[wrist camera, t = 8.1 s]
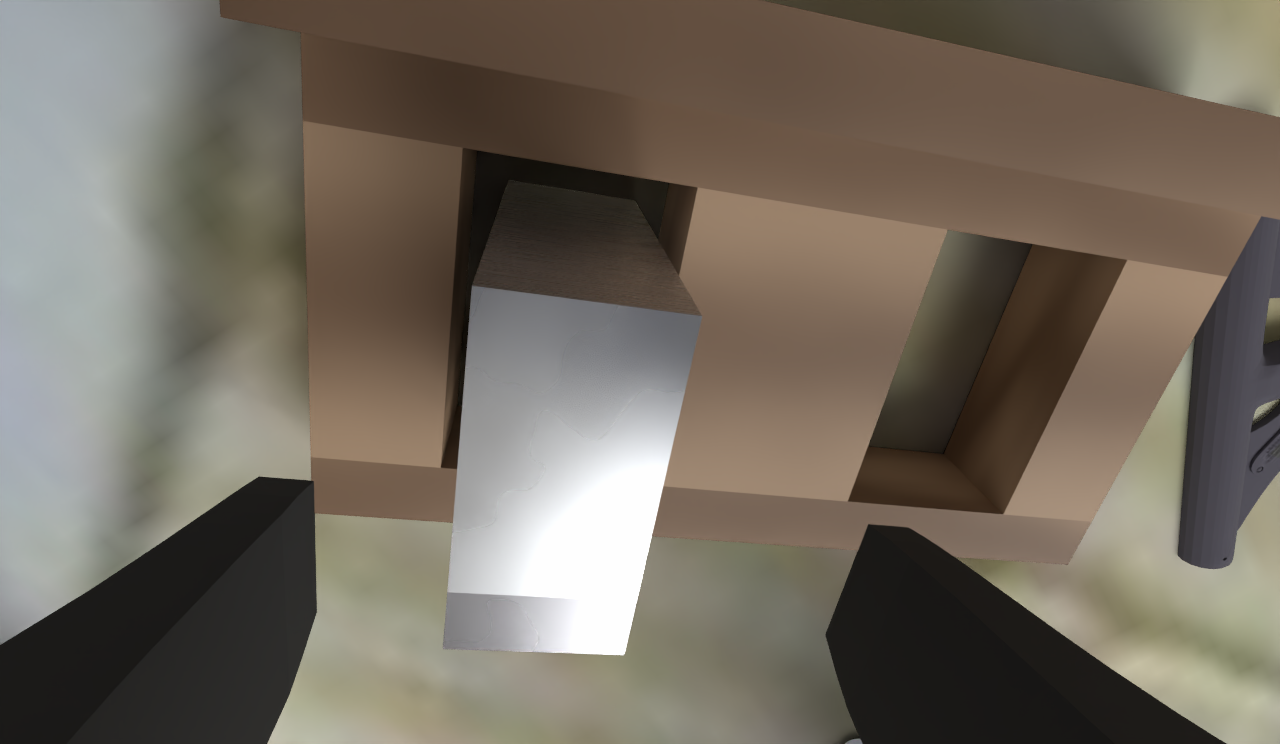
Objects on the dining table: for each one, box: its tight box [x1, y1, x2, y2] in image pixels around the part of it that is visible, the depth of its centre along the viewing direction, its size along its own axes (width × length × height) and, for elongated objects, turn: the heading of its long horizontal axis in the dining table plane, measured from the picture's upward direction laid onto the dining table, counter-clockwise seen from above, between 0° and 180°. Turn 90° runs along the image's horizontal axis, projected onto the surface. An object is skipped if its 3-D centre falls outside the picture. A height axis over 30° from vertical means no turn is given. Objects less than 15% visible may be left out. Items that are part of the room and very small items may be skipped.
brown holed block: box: [220, 0, 1280, 565], centre depth 15 cm, size 12×20×6 cm, turn 80°
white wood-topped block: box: [443, 180, 702, 655], centre depth 13 cm, size 6×3×8 cm, turn 170°
